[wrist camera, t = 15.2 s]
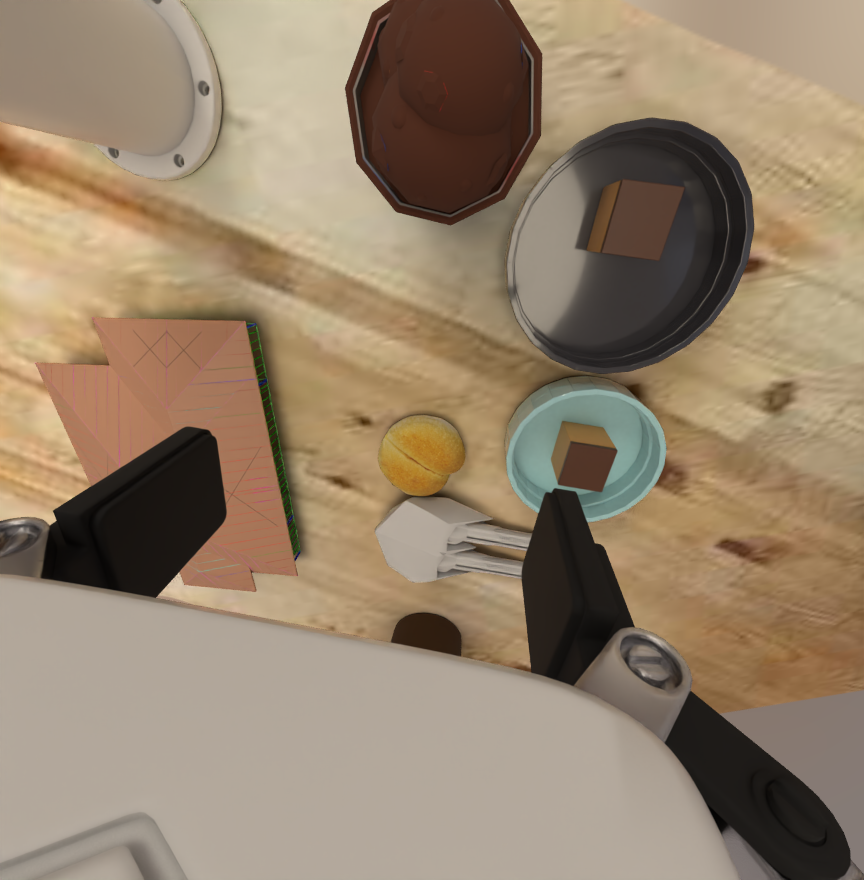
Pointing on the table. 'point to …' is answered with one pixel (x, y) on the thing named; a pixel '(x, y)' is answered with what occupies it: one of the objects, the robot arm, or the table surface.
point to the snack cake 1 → (583, 456)
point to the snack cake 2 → (634, 219)
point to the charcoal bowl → (619, 277)
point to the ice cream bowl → (445, 104)
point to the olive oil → (428, 633)
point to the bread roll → (421, 454)
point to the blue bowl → (596, 407)
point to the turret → (444, 540)
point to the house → (174, 407)
